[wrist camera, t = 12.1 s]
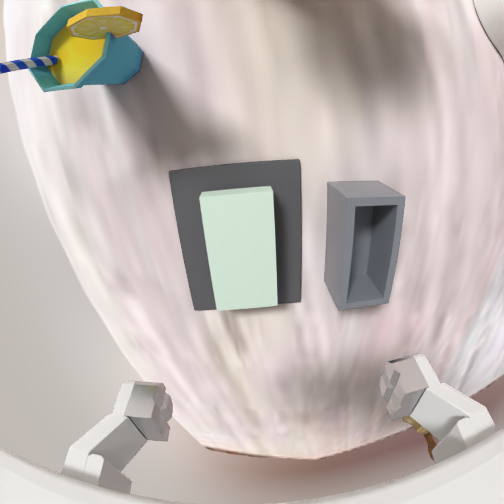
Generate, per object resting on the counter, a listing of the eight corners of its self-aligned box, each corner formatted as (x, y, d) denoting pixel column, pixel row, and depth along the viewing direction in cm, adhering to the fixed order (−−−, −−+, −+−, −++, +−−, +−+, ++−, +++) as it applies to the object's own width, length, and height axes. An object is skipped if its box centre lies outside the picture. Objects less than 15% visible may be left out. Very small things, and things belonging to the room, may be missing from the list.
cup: (66, 123, 24) (-33, 145, 11) (54, 64, 21) (-42, 57, 7) (184, 73, 23) (131, 35, 10) (168, 10, 20) (115, -59, 7)
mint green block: (269, 183, 28) (273, 191, 26) (274, 289, 34) (277, 305, 31) (203, 189, 28) (199, 197, 26) (218, 294, 34) (216, 310, 31)
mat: (298, 159, 28) (299, 159, 27) (299, 299, 35) (300, 301, 35) (169, 171, 28) (168, 171, 27) (195, 308, 35) (194, 310, 35)
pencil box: (378, 180, 29) (405, 196, 24) (369, 275, 34) (388, 302, 29) (327, 181, 29) (347, 197, 24) (324, 280, 34) (338, 310, 29)
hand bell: (401, 425, 56) (420, 474, 42) (404, 411, 53) (426, 465, 38) (429, 412, 55) (450, 458, 41) (434, 397, 52) (459, 447, 38)
